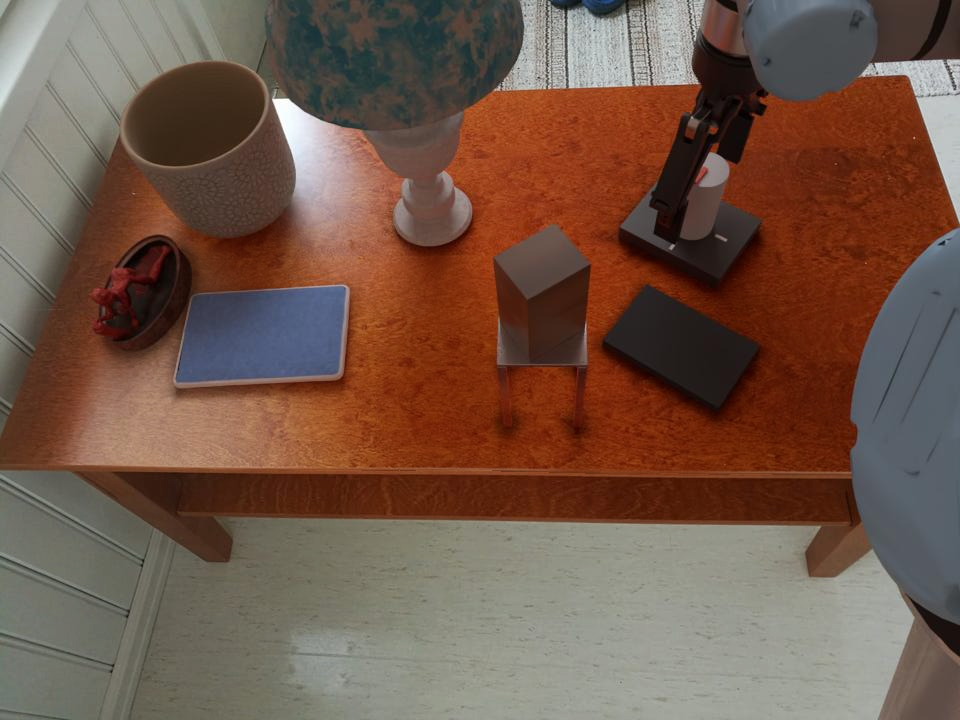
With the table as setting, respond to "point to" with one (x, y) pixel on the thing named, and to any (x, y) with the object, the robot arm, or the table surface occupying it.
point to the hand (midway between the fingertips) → (697, 196)
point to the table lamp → (399, 85)
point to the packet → (542, 291)
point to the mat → (681, 347)
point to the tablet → (264, 337)
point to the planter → (211, 147)
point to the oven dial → (705, 198)
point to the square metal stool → (559, 356)
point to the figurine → (143, 294)
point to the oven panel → (694, 241)
